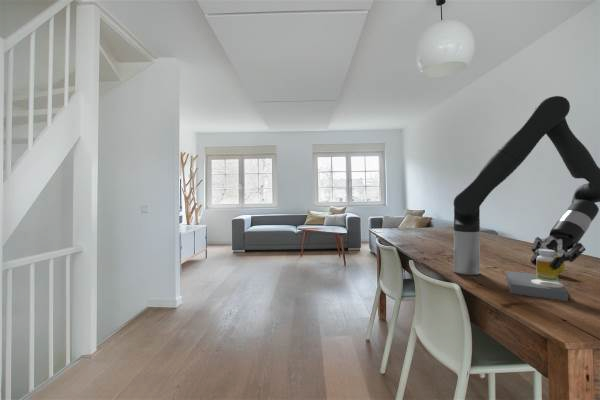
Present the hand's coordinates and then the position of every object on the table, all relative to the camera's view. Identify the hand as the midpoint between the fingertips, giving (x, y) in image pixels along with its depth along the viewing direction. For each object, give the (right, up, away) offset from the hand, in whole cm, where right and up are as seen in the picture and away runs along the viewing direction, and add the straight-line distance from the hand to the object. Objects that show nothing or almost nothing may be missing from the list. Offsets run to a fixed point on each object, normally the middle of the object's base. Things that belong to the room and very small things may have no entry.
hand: (542, 265), depth 93 cm
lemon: (+22, -8, +20) cm, 31 cm away
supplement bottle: (+2, -5, +1) cm, 5 cm away
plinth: (+1, -9, +5) cm, 10 cm away
